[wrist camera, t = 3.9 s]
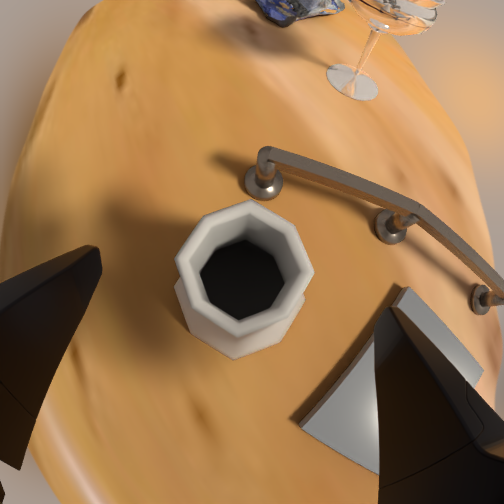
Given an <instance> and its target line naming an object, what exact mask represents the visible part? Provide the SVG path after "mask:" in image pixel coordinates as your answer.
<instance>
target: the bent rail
mask: <svg viewBox="0 0 504 504" xmlns="http://www.w3.org/2000/svg"><path fill="white" fill-rule="evenodd" d="M279 170H281V171H284V172H287V173H290V174H293V175H296V176H299V177H302V178H305V179H308V180H311V181H314V182H317V183H320V184H323V185H326V186H329V187H331V188H334V189H337V190H340V191H342V192H345V193H348V194H350V195H353V196H356V197H358V198H361V199H363V200H366V201H368V202H371V203H373V204H376V205H378V206H381V207H383V208H386V209H385V210H383V211H382V212H380V213H379V214H378V215H377V216H376V218H375V221H374V229H375V232H376V235H377V236H378V238H379V239H380V240H381V241H382V242H383V243H385V244H388V245H395V244H397V243H399V242H401V241H402V240H403V239H404V238H405V236H406V232H407V228H408V227H410V226H411V225H413V224H415V223H416V224H418V225H419V226H420V227H421V228H423V229H424V230H425V231H427V232H428V233H429V234H430V235H431V236H433V237H434V238H435V239H436V240H438V241H439V242H440V243H441V244H442V245H444V246H445V247H446V248H447V249H448V250H450V251H451V252H452V253H453V254H454V255H455V256H456V257H458V258H459V259H460V260H461V261H462V262H463V263H464V264H465V265H467V266H468V267H469V268H470V269H471V270H472V271H473V272H474V273H475V274H476V275H477V276H478V277H480V278H481V279H482V280H483V281H484V282H485V283H486V284H487V285H488V286H489V287H490V288H491V289H492V290H493V291H489V289H488V288H487V286H485V285H479V286H476V287H475V288H474V289H473V291H472V294H471V307H472V310H473V312H474V313H475V314H476V315H484V314H486V313H487V312H488V311H489V309H490V306H498V305H504V280H503V279H502V278H501V277H500V276H499V275H498V273H497V272H496V271H495V270H494V269H493V268H492V267H491V266H490V265H489V264H488V263H487V262H486V261H485V260H484V259H483V258H482V257H481V256H480V255H479V254H478V253H477V252H476V251H475V250H474V249H473V248H472V247H470V246H469V245H468V244H467V243H466V242H465V241H464V240H463V239H462V238H461V237H460V236H458V235H457V234H456V233H455V232H454V231H453V230H452V229H451V228H449V227H448V226H447V225H446V224H445V223H444V222H442V221H441V220H440V219H439V218H438V217H436V216H435V215H434V214H433V213H432V212H430V211H429V210H428V209H427V208H425V207H424V206H423V205H422V204H419V203H418V202H416V201H414V200H412V199H410V198H408V197H405V196H403V195H401V194H399V193H397V192H394V191H392V190H390V189H387V188H385V187H383V186H380V185H378V184H376V183H373V182H371V181H368V180H366V179H363V178H361V177H358V176H356V175H353V174H351V173H348V172H345V171H343V170H340V169H337V168H335V167H332V166H329V165H326V164H324V163H321V162H318V161H315V160H312V159H309V158H306V157H303V156H300V155H297V154H294V153H291V152H288V151H284V150H281V149H278V148H275V147H271V146H266V147H263V148H261V149H260V150H259V152H258V157H257V164H256V165H255V166H253V167H251V168H250V169H249V170H248V171H247V173H246V175H245V189H246V191H247V193H248V194H249V195H250V196H251V197H253V198H254V199H257V200H260V201H268V200H272V199H274V198H275V197H277V196H278V195H279V193H280V191H281V189H282V186H283V177H282V175H281V173H280V172H279Z"/></svg>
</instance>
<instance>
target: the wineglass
mask: <svg viewBox="0 0 504 504" xmlns="http://www.w3.org/2000/svg"><path fill="white" fill-rule="evenodd" d="M349 2H350V3H351V5H352V6H353V8H354V9H355V11H356V13H357V14H358V15H359V16H360V17H361V18H362V19H364V20H365V21H366V22H368V25H369V27H370V28H371V32H370V35H369V37H368V40H367V42H366V45H365V48H364V50H363V53H362V55H361V58H360V60H359V63H358V65H357V67H354V66H352V65H347V64H335V65H332V66H331V67H329V68H328V70H327V77H328V80H329V81H330V83H331V84H332V86H334V87H335V88H336V89H337V90H338V91H339V92H341V93H343V94H344V95H346V96H348V97H351V98H353V99H357V100H362V101H364V100H371V99H374V98H375V97H376V96H377V94H378V88H377V85H376V83H375V81H374V80H373V79H372V78H371V77H370V76H369V75H368V74H367V73H366V72H364V71H362V70H361V69H362V67H363V66H364V64H365V62H366V60H367V58H368V57H369V55H370V53H371V51H372V49H373V47H374V46H375V44H376V42H377V40H378V38H379V37H380V35H381V34H387V33H391V34H395V35H400V36H402V35H414V34H422V33H423V32H425V31H427V30H428V29H429V28H430V27H431V26H432V25H433V24H434V22H435V21H436V17H437V11H436V8H437V7H439V6H441V5H443V4H445V1H444V0H349Z"/></svg>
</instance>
